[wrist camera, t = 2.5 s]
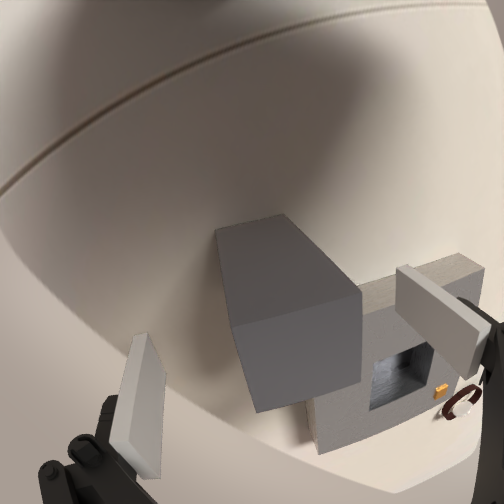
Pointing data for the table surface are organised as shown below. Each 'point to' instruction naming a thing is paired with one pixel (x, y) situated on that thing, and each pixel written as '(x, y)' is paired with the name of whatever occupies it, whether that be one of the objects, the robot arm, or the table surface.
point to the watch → (461, 403)
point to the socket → (392, 363)
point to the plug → (289, 313)
